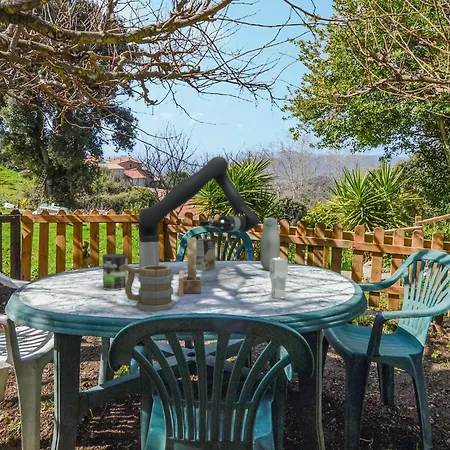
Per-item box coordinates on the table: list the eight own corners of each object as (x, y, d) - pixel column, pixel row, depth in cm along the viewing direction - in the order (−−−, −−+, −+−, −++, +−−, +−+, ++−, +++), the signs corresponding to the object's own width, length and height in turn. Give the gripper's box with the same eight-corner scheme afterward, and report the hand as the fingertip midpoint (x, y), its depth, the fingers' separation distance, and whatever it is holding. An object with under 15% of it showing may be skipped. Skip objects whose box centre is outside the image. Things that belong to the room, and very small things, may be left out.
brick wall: (178, 295, 166) (178, 278, 165) (179, 287, 182) (179, 271, 181) (183, 295, 166) (183, 278, 165) (183, 287, 182) (183, 270, 181)
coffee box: (205, 270, 221) (205, 240, 220) (195, 269, 225) (195, 239, 224) (215, 268, 228) (215, 239, 227) (206, 267, 232) (206, 238, 231)
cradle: (183, 293, 169) (183, 280, 169) (183, 288, 178) (183, 276, 178) (200, 292, 170) (200, 280, 170) (200, 288, 179) (200, 276, 179)
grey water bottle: (259, 268, 229) (260, 216, 227) (278, 268, 229) (279, 217, 227) (260, 271, 220) (261, 217, 218) (280, 271, 219) (281, 218, 217)
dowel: (187, 292, 172) (187, 238, 171) (187, 290, 176) (187, 237, 174) (196, 291, 173) (196, 238, 171) (196, 289, 176) (196, 237, 174)
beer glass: (275, 299, 160) (276, 260, 159) (265, 295, 167) (266, 258, 165) (290, 297, 164) (291, 259, 163) (280, 293, 170) (281, 257, 169)
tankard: (178, 303, 155) (178, 262, 154) (166, 312, 143) (166, 268, 141) (128, 299, 159) (128, 260, 158) (112, 308, 147) (111, 266, 146)
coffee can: (118, 291, 173) (118, 257, 172) (97, 289, 176) (97, 256, 175) (132, 286, 182) (132, 254, 181) (112, 284, 186) (112, 253, 185)
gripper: (216, 214, 198) (194, 215, 185) (242, 216, 190) (221, 216, 177) (216, 230, 199) (194, 232, 186) (241, 232, 191) (220, 234, 177)
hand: (207, 224), depth 181 cm, fingers open, 8 cm apart
